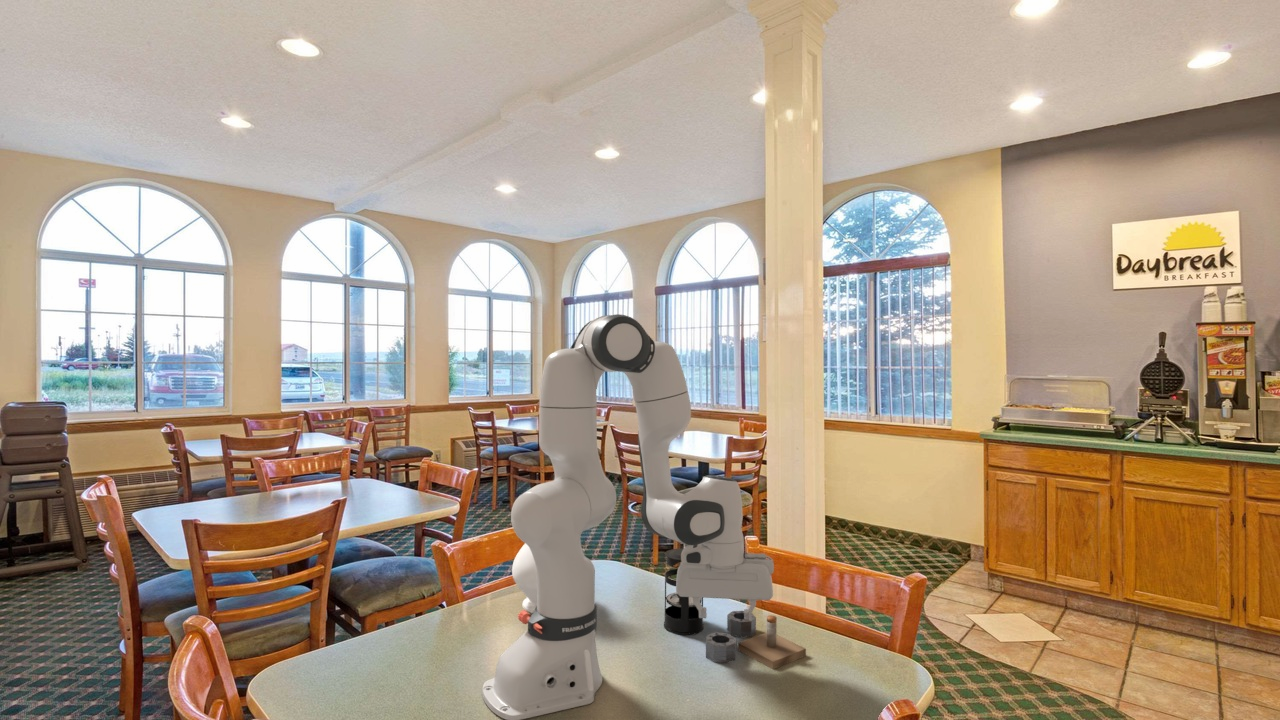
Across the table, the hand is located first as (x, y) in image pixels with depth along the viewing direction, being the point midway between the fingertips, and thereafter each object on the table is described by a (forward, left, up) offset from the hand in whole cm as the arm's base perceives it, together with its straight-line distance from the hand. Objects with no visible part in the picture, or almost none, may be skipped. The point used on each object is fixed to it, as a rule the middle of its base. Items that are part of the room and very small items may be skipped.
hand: (725, 618), depth 126 cm
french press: (+2, +16, -8) cm, 18 cm away
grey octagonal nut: (-1, 0, -8) cm, 8 cm away
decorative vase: (-19, +45, -8) cm, 50 cm away
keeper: (+9, -5, -8) cm, 13 cm away
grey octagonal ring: (+11, +6, -8) cm, 15 cm away
